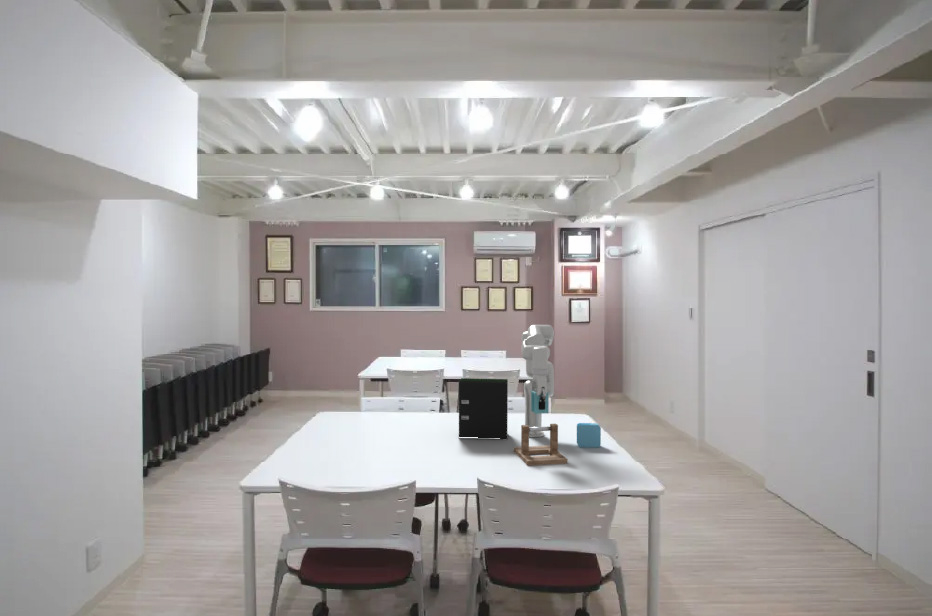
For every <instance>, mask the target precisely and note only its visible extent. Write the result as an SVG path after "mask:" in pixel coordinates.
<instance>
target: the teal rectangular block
mask: <svg viewBox="0 0 932 616" xmlns="http://www.w3.org/2000/svg"><path fill="white" fill-rule="evenodd" d="M540 395H543V394H540ZM549 398H550V397H549V393H548V392H547V394H546V398H545V410H539V396H537V395H536V393H535V392H534V391H531V411H532V412H534V413H535V414H541V413H542V414H549V405H550V404H549V402H550V400H549Z"/></svg>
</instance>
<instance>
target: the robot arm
mask: <svg viewBox="0 0 932 616" xmlns="http://www.w3.org/2000/svg"><path fill="white" fill-rule="evenodd" d="M554 336H555V330H554V327H553V326H552V325H551V324H531V325H530V326H529V327H528V328H527V331H524V332H523V333H522V334H521V348H520V349H521V356H522V358H523V359H524V360H525V372H526V373H525V374H526V376H527V377H528V378H532V379H531V380H530V379H528V380H526V381H525V382H524V383H523V394H524V425H528V426H529V427H542V416H543V415H542V414H543V413H541V414H535V413H534V412H532V411H531V391H534V392H535V393H536V395H537V396H539V410H545V398H546V394H547V392H548V393H549V398H550V397H553V396H554V394H555V376H554V375H555V370H554V369H555V368H554V364H553V363H552V362H551V361H549V360H548V359H549V357H550V356H551V349H550V348H549V347H550V346H551V345H552V344H553V341H554ZM540 394H543V395H540ZM544 436H545V431H531V432H529V438H541V437H544Z"/></svg>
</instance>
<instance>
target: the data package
mask: <svg viewBox="0 0 932 616" xmlns="http://www.w3.org/2000/svg"><path fill="white" fill-rule="evenodd" d="M601 433H602V427H601V425H599V423H596V422H593V423H592V422H591V423H590V422H579V423H577V424H576V444H577V447H579V448H600V447H601V444H602V442H601V439H602V438H601V435H602V434H601Z"/></svg>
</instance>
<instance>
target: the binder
mask: <svg viewBox="0 0 932 616" xmlns="http://www.w3.org/2000/svg"><path fill="white" fill-rule="evenodd" d="M508 383H509V381H508V378H470V377H469V378H467V377H466V378H462V377H461V378H460V380H459V382H458V438H459V437H478V438H500V439H499V440H503V439H507V440H508V403H509V402H508V397H509V395H508V392H509V389H508V388H509V387H508V386H509V385H508Z"/></svg>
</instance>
